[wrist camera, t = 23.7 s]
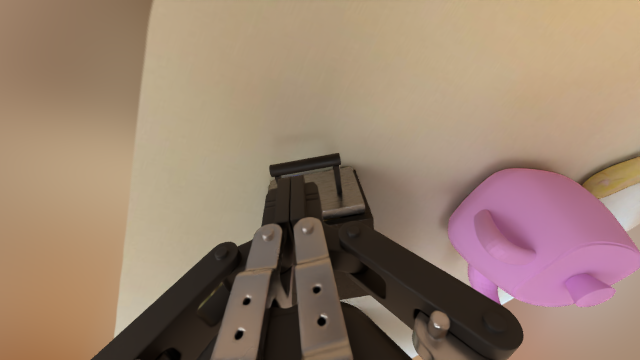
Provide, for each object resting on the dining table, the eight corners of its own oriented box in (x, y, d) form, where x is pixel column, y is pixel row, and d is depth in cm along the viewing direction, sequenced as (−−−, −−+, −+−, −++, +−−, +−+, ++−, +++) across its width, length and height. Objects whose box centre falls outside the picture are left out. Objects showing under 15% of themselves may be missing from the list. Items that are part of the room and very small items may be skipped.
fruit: (595, 153, 33) (622, 165, 30) (697, 145, 33) (732, 156, 31) (566, 193, 37) (588, 207, 34) (657, 185, 38) (685, 199, 35)
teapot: (480, 133, 30) (611, 218, 17) (581, 180, 36) (731, 268, 23) (383, 247, 41) (421, 347, 29) (472, 269, 47) (535, 359, 35)
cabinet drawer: (258, 147, 27) (248, 184, 21) (347, 131, 27) (362, 164, 21) (293, 248, 38) (293, 292, 32) (358, 237, 38) (369, 279, 32)
